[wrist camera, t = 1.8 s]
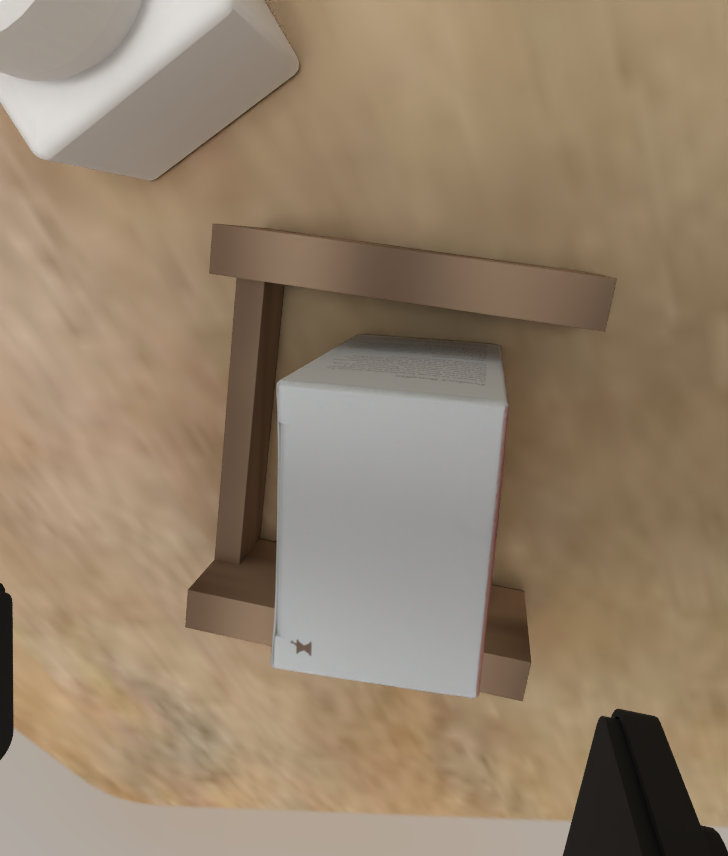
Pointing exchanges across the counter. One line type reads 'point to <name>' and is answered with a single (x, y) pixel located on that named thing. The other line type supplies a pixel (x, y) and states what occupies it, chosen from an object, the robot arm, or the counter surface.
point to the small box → (389, 511)
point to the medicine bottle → (135, 76)
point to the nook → (254, 390)
